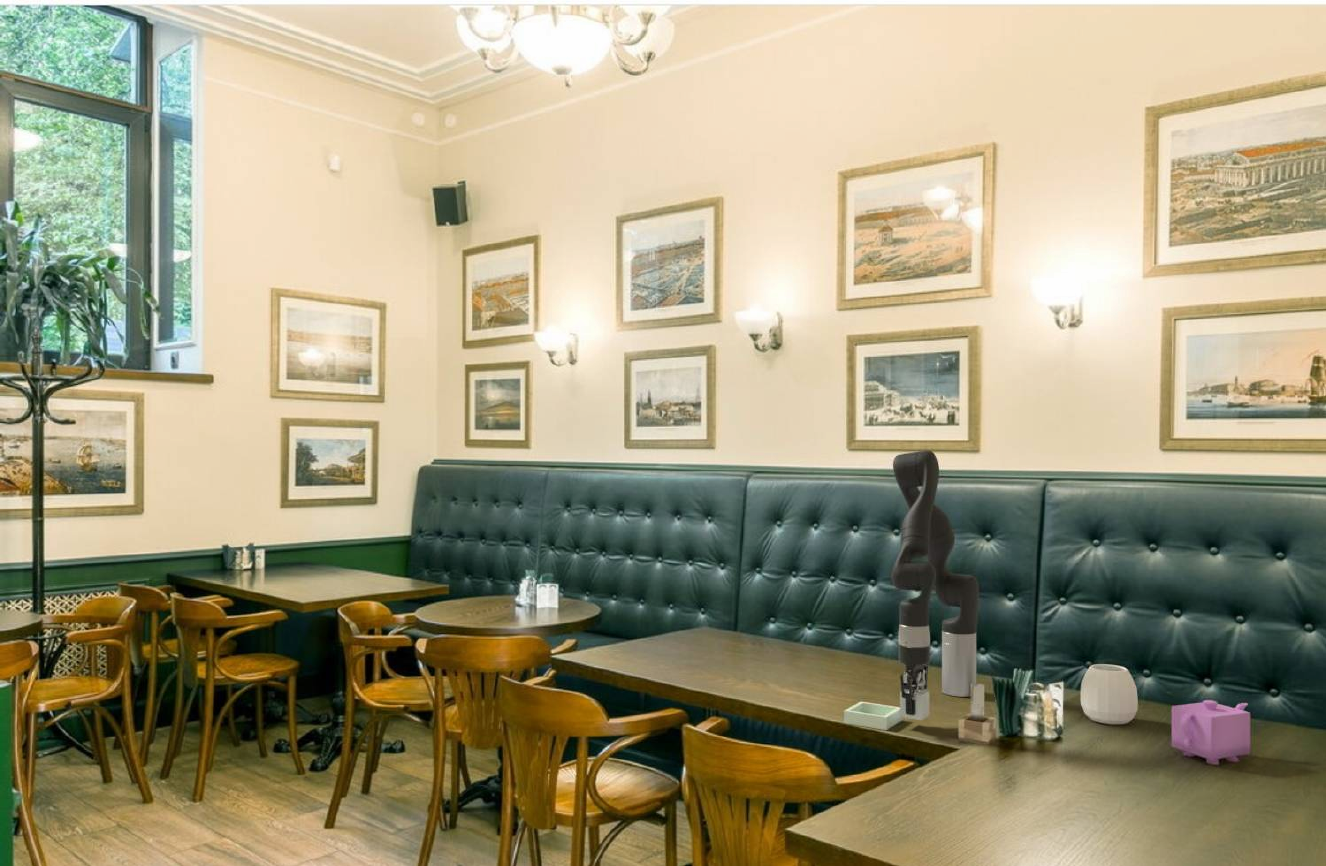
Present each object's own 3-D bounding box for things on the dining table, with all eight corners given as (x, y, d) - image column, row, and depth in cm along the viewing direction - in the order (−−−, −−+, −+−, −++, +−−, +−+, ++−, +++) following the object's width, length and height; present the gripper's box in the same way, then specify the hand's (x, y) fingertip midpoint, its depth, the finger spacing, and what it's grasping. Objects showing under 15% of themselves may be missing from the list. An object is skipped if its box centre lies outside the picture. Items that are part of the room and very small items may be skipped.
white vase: (1137, 717, 255) (1137, 665, 255) (1138, 730, 243) (1138, 675, 243) (1081, 711, 260) (1081, 660, 260) (1079, 724, 248) (1079, 670, 248)
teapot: (1202, 768, 214) (1202, 709, 214) (1163, 754, 224) (1163, 698, 224) (1268, 758, 222) (1268, 701, 222) (1227, 745, 231) (1227, 691, 231)
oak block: (967, 734, 239) (967, 713, 240) (995, 739, 236) (995, 717, 236) (958, 741, 234) (958, 719, 234) (988, 746, 230) (988, 724, 230)
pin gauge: (972, 733, 237) (973, 682, 237) (985, 735, 235) (985, 684, 236) (969, 736, 234) (969, 685, 235) (982, 738, 233) (982, 686, 233)
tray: (860, 713, 257) (861, 701, 257) (902, 720, 251) (902, 707, 251) (844, 723, 248) (844, 710, 248) (886, 730, 242) (886, 717, 242)
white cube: (907, 711, 248) (907, 687, 248) (929, 714, 245) (929, 690, 245) (900, 716, 244) (899, 692, 244) (922, 720, 241) (921, 695, 241)
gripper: (909, 636, 253) (909, 702, 253) (889, 646, 241) (889, 716, 241) (938, 639, 249) (938, 706, 249) (919, 649, 237) (920, 720, 237)
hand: (914, 711), depth 245 cm, fingers closed on white cube, 5 cm apart
